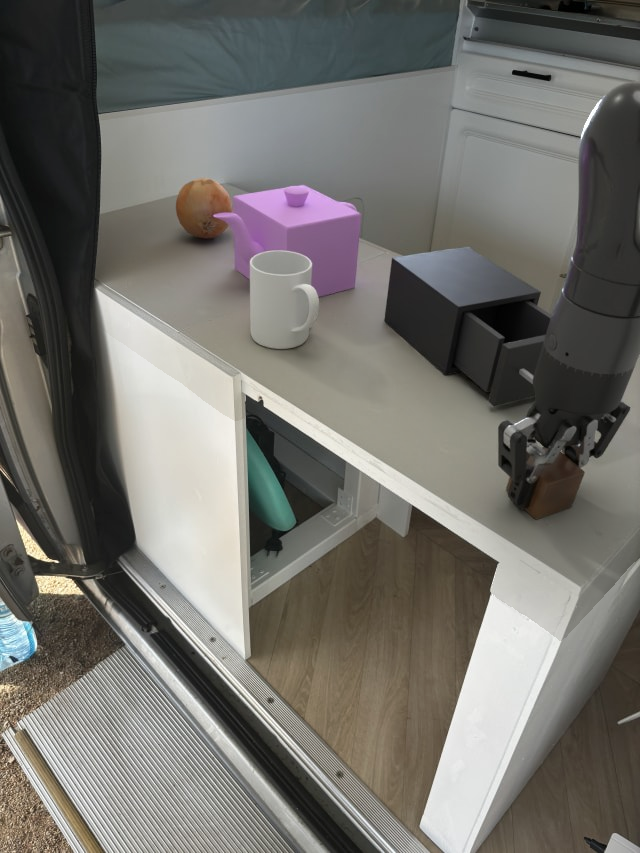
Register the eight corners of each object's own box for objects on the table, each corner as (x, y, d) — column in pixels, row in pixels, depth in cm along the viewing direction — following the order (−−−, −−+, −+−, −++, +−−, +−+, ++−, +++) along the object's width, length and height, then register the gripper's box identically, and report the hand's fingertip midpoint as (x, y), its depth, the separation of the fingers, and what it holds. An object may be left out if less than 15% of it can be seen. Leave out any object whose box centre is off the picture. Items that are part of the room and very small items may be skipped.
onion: (223, 224, 122) (221, 168, 116) (240, 243, 115) (239, 185, 109) (172, 229, 118) (167, 172, 112) (186, 249, 111) (182, 189, 105)
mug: (240, 329, 90) (238, 256, 83) (289, 317, 93) (291, 246, 87) (286, 371, 82) (288, 294, 76) (337, 355, 85) (343, 280, 79)
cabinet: (523, 357, 88) (541, 291, 82) (445, 375, 83) (458, 306, 77) (456, 307, 99) (468, 246, 93) (383, 321, 94) (391, 257, 88)
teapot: (194, 277, 102) (188, 186, 94) (324, 249, 114) (329, 166, 106) (242, 317, 93) (240, 219, 84) (379, 281, 105) (389, 192, 96)
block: (540, 478, 68) (552, 443, 65) (571, 507, 64) (585, 472, 62) (505, 489, 66) (515, 454, 63) (535, 520, 63) (547, 484, 60)
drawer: (597, 409, 77) (619, 352, 72) (521, 431, 73) (539, 371, 68) (495, 333, 91) (508, 281, 86) (426, 348, 87) (435, 293, 82)
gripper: (555, 386, 50) (505, 542, 60) (686, 353, 55) (619, 502, 65) (494, 340, 55) (458, 491, 65) (619, 314, 60) (567, 457, 70)
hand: (539, 495), depth 65 cm, fingers closed on block, 4 cm apart
